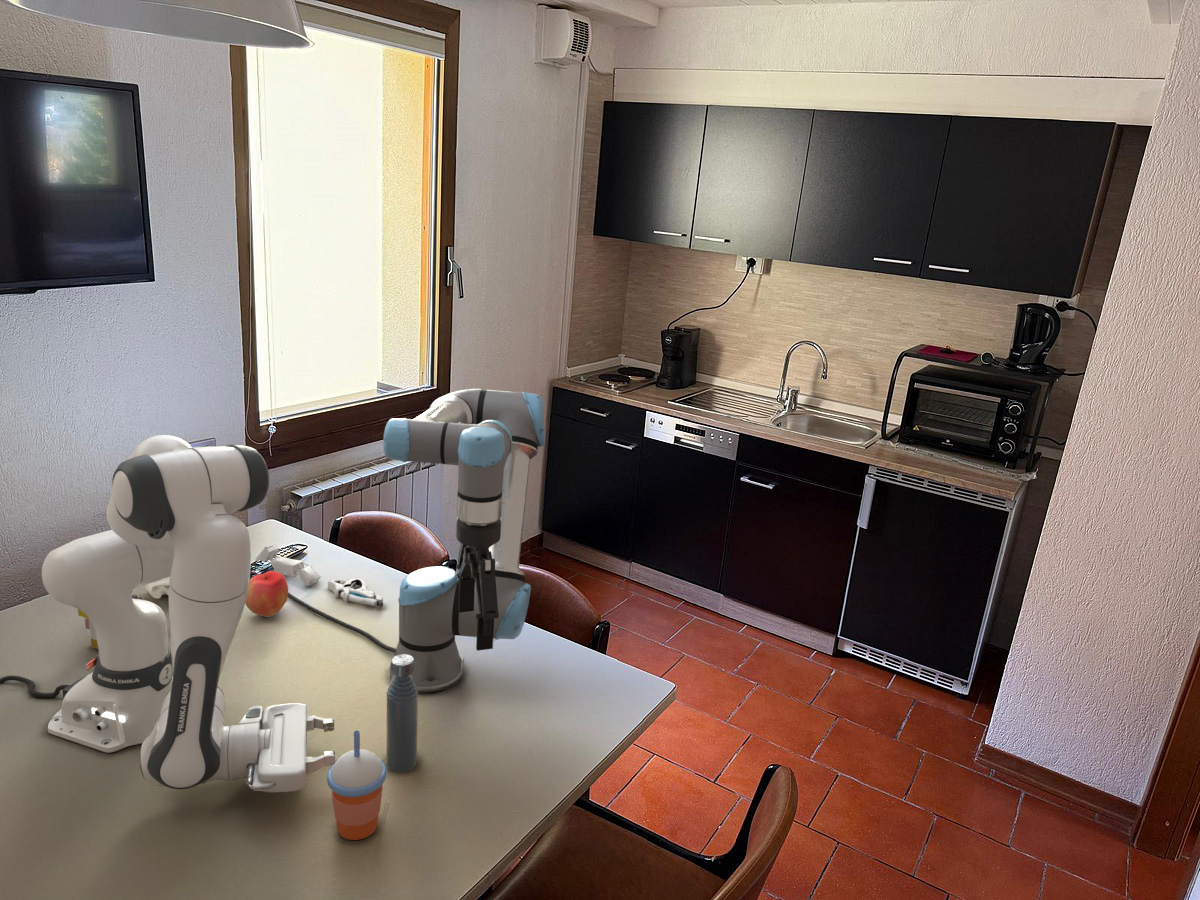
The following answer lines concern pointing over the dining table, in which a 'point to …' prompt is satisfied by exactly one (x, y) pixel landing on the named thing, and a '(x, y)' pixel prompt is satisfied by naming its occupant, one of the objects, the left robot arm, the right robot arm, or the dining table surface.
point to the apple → (267, 593)
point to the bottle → (402, 724)
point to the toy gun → (355, 592)
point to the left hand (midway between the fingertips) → (334, 740)
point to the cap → (402, 665)
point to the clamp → (288, 565)
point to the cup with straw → (357, 791)
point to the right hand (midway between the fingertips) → (474, 629)
